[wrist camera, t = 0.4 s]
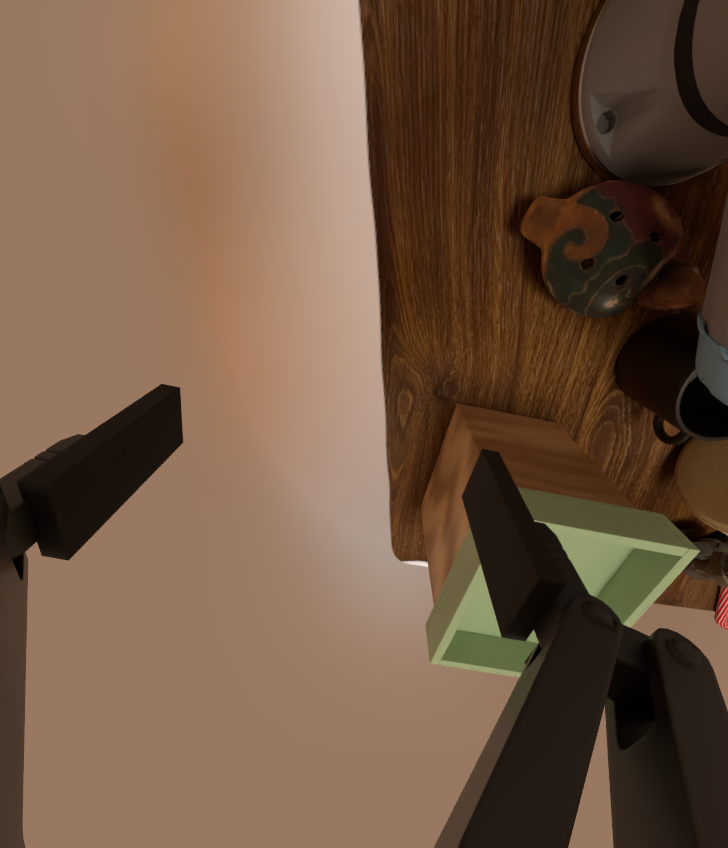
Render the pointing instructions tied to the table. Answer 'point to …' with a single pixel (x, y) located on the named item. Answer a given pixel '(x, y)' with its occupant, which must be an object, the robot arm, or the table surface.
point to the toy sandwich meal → (704, 481)
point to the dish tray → (594, 562)
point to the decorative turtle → (612, 250)
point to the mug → (671, 380)
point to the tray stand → (527, 463)
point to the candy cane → (722, 608)
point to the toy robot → (709, 560)
